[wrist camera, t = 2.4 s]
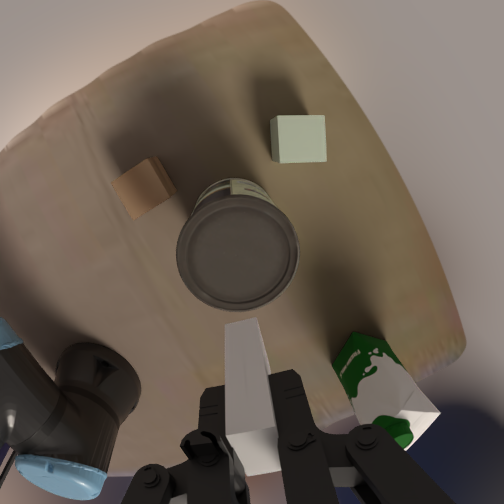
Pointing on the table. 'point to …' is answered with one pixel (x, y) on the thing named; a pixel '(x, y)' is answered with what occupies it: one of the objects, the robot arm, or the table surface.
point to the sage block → (298, 138)
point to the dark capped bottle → (3, 451)
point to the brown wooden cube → (144, 187)
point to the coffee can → (237, 247)
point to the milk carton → (383, 389)
